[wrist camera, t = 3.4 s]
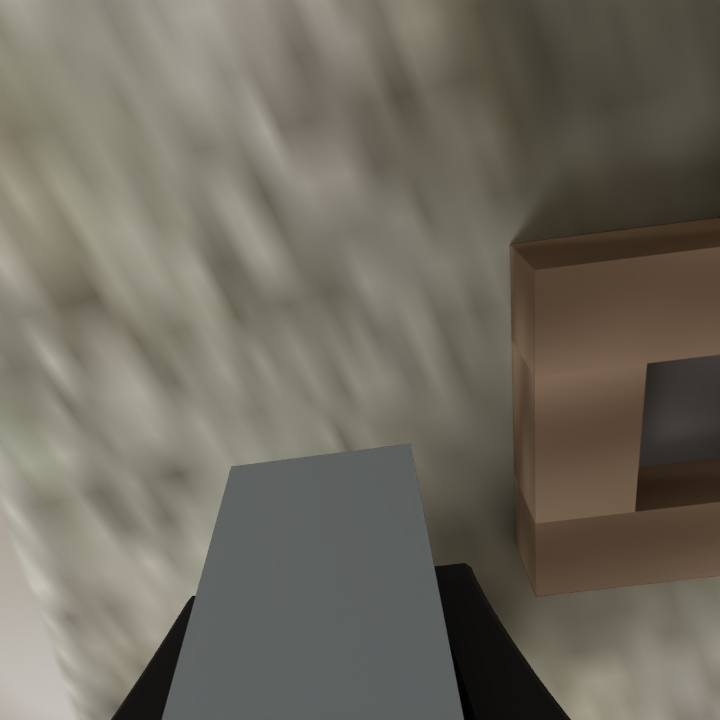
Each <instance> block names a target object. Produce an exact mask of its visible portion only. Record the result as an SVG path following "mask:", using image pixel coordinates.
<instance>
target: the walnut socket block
mask: <svg viewBox="0 0 720 720" xmlns="http://www.w3.org/2000/svg"><path fill="white" fill-rule="evenodd" d="M510 274H511V324H512V374H513V425H514V475H515V525H516V545H517V548H518V550H519V553H520V556H521V559H522V561H523V564H524V567H525V569H526V572H527V575H528V577H529V580H530V583H531V585H532V588H533V591H534V593H535V596H536V597H537V596H546V595H555V594H564V593H572V592H581V591H590V590H598V589H607V588H616V587H625V586H633V585H642V584H651V583H660V582H668V581H677V580H686V579H694V578H703V577H712V576H720V218H713V219H705V220H697V221H689V222H681V223H673V224H666V225H658V226H650V227H642V228H634V229H626V230H618V231H611V232H603V233H595V234H587V235H579V236H571V237H563V238H556V239H548V240H540V241H532V242H524V243H516V244H510Z"/></svg>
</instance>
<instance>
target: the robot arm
mask: <svg viewBox="0 0 720 720" xmlns="http://www.w3.org/2000/svg"><path fill="white" fill-rule="evenodd" d="M434 568H435V573H436V578H437V584H438V589H439V594H440V599H441V604H442V609H443V615H444V620H445V625H446V630H447V635H448V640H449V645H450V651H451V656H452V661H453V666H454V671H455V676H456V681H457V687H458V692H459V697H460V702H461V707H462V712H463V717H464V720H571V719H570V718H569V717H568V716H567V714H566V713H565V712H564V710H563V709H562V708H561V707H560V705H559V704H558V703H557V701H556V700H555V699H554V698H553V696H552V695H551V694H550V692H549V691H548V690H547V688H546V687H545V686H544V684H543V683H542V682H541V680H540V679H539V678H538V676H537V675H536V674H535V672H534V671H533V669H532V668H531V666H530V665H529V664H528V662H527V661H526V659H525V658H524V656H523V655H522V653H521V652H520V651H519V649H518V648H517V646H516V645H515V643H514V642H513V640H512V639H511V637H510V636H509V634H508V633H507V631H506V630H505V628H504V627H503V625H502V623H501V622H500V620H499V618H498V617H497V615H496V614H495V612H494V610H493V609H492V607H491V605H490V603H489V602H488V600H487V598H486V596H485V595H484V593H483V591H482V589H481V587H480V585H479V583H478V581H477V579H476V577H475V575H474V573H473V570H472V568H471V567H470V566H468V565H467V564H465V563H461V564H452V565H444V566H436V567H434ZM195 597H196V596H192V597H191V598H190V599H189V601H188V602H187V603H186V605H185V607H184V608H183V610H182V611H181V613H180V615H179V616H178V618H177V620H176V621H175V623H174V624H173V626H172V628H171V629H170V631H169V632H168V634H167V636H166V637H165V639H164V640H163V642H162V644H161V645H160V647H159V648H158V650H157V652H156V653H155V655H154V656H153V658H152V659H151V661H150V662H149V664H148V666H147V667H146V669H145V670H144V672H143V673H142V675H141V676H140V678H139V679H138V681H137V682H136V684H135V685H134V687H133V688H132V690H131V691H130V693H129V694H128V696H127V697H126V699H125V700H124V701H123V703H122V704H121V706H120V707H119V709H118V710H117V712H116V713H115V715H114V716H113V718H112V719H111V720H162V717H163V713H164V710H165V706H166V702H167V699H168V695H169V691H170V688H171V684H172V680H173V677H174V673H175V670H176V666H177V662H178V659H179V655H180V651H181V648H182V644H183V640H184V637H185V633H186V630H187V626H188V622H189V619H190V615H191V611H192V608H193V604H194V600H195Z"/></svg>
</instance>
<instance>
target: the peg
mask: <svg viewBox="0 0 720 720" xmlns="http://www.w3.org/2000/svg"><path fill="white" fill-rule="evenodd" d="M162 720H464V717H463V712H462V707H461V702H460V697H459V692H458V687H457V681H456V676H455V671H454V666H453V661H452V656H451V651H450V645H449V640H448V635H447V630H446V625H445V620H444V615H443V609H442V604H441V599H440V594H439V589H438V584H437V578H436V573H435V568H434V563H433V558H432V553H431V548H430V542H429V537H428V532H427V527H426V522H425V517H424V512H423V506H422V501H421V496H420V491H419V486H418V481H417V476H416V470H415V465H414V460H413V455H412V450H411V445H410V444H404V445H396V446H389V447H381V448H373V449H365V450H357V451H350V452H342V453H334V454H326V455H318V456H310V457H303V458H295V459H287V460H279V461H271V462H264V463H256V464H248V465H240V466H232V467H231V470H230V473H229V477H228V481H227V484H226V488H225V491H224V495H223V499H222V502H221V506H220V510H219V513H218V517H217V521H216V524H215V528H214V531H213V535H212V539H211V542H210V546H209V550H208V553H207V557H206V561H205V564H204V568H203V571H202V575H201V579H200V582H199V586H198V590H197V593H196V597H195V600H194V604H193V608H192V611H191V615H190V619H189V622H188V626H187V630H186V633H185V637H184V640H183V644H182V648H181V651H180V655H179V659H178V662H177V666H176V670H175V673H174V677H173V680H172V684H171V688H170V691H169V695H168V699H167V702H166V706H165V710H164V713H163V717H162Z"/></svg>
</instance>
